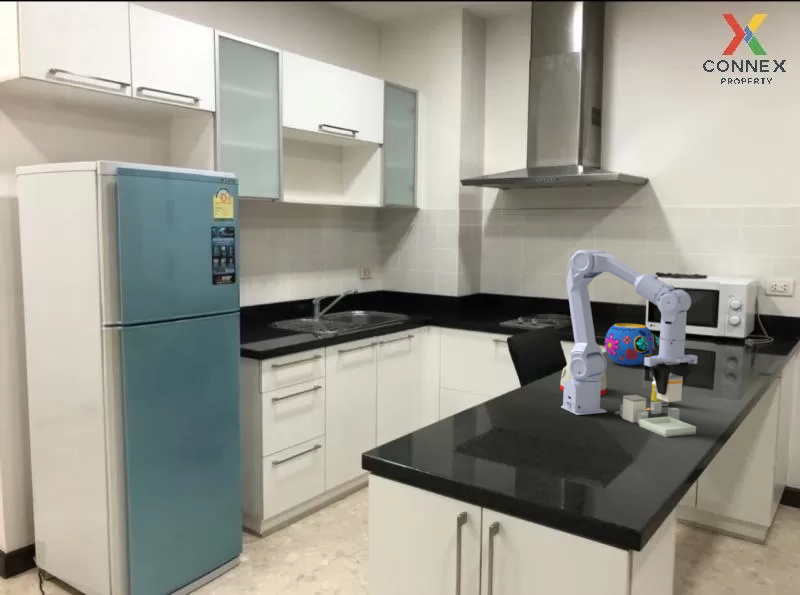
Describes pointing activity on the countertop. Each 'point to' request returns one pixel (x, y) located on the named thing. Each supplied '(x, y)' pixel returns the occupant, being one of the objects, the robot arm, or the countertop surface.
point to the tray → (667, 426)
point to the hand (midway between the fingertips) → (669, 393)
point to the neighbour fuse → (633, 407)
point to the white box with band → (672, 389)
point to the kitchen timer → (568, 376)
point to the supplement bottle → (654, 395)
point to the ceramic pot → (630, 343)
